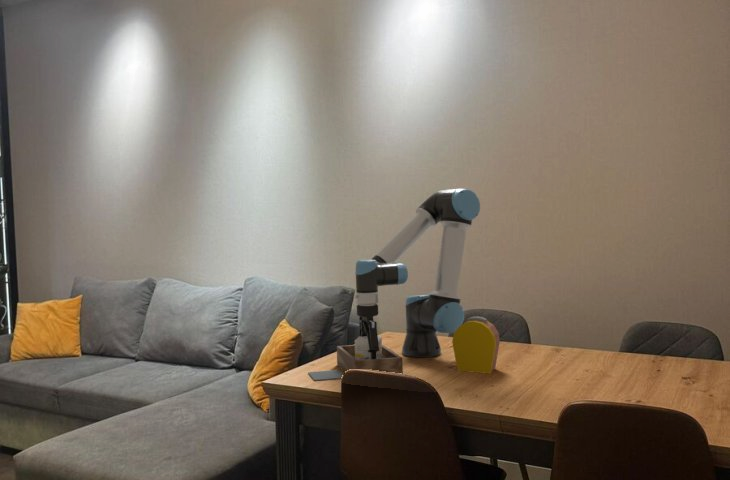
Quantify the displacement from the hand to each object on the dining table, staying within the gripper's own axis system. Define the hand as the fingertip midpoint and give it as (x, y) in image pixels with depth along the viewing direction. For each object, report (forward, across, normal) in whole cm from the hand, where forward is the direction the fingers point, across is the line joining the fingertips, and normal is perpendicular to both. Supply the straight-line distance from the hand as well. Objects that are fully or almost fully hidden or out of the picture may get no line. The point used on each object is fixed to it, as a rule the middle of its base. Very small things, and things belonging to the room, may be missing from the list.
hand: (368, 366), depth 225 cm
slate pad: (+2, +1, -15) cm, 15 cm away
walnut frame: (+2, 0, 0) cm, 2 cm away
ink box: (+2, 0, 0) cm, 2 cm away
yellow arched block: (+2, +10, +36) cm, 38 cm away
